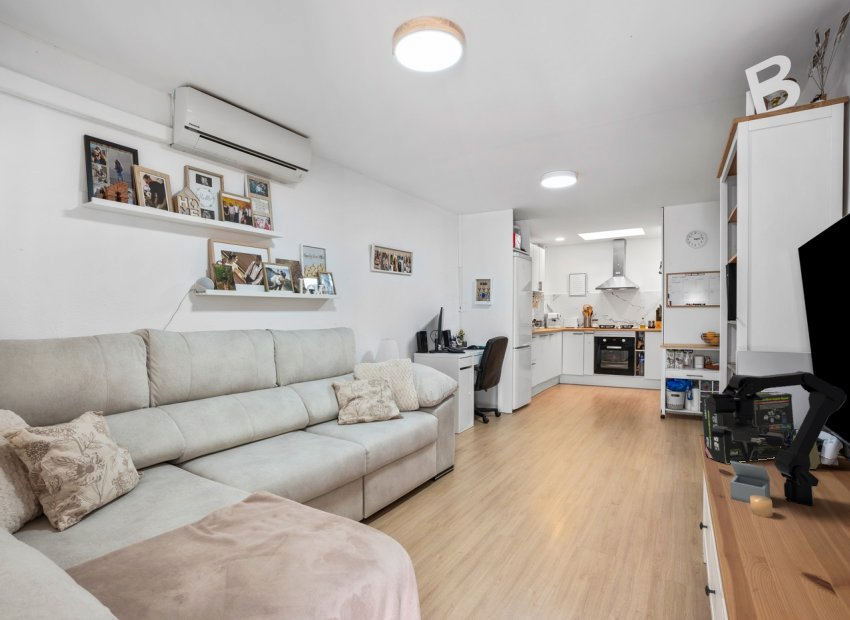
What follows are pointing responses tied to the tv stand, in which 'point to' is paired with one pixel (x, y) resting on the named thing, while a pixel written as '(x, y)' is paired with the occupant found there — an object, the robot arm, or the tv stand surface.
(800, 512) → the tv stand surface
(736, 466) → the box lid
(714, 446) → the router box
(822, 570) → the tv stand surface
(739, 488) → the box
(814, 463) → the squeeze bottle
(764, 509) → the tan cylinder grey end
